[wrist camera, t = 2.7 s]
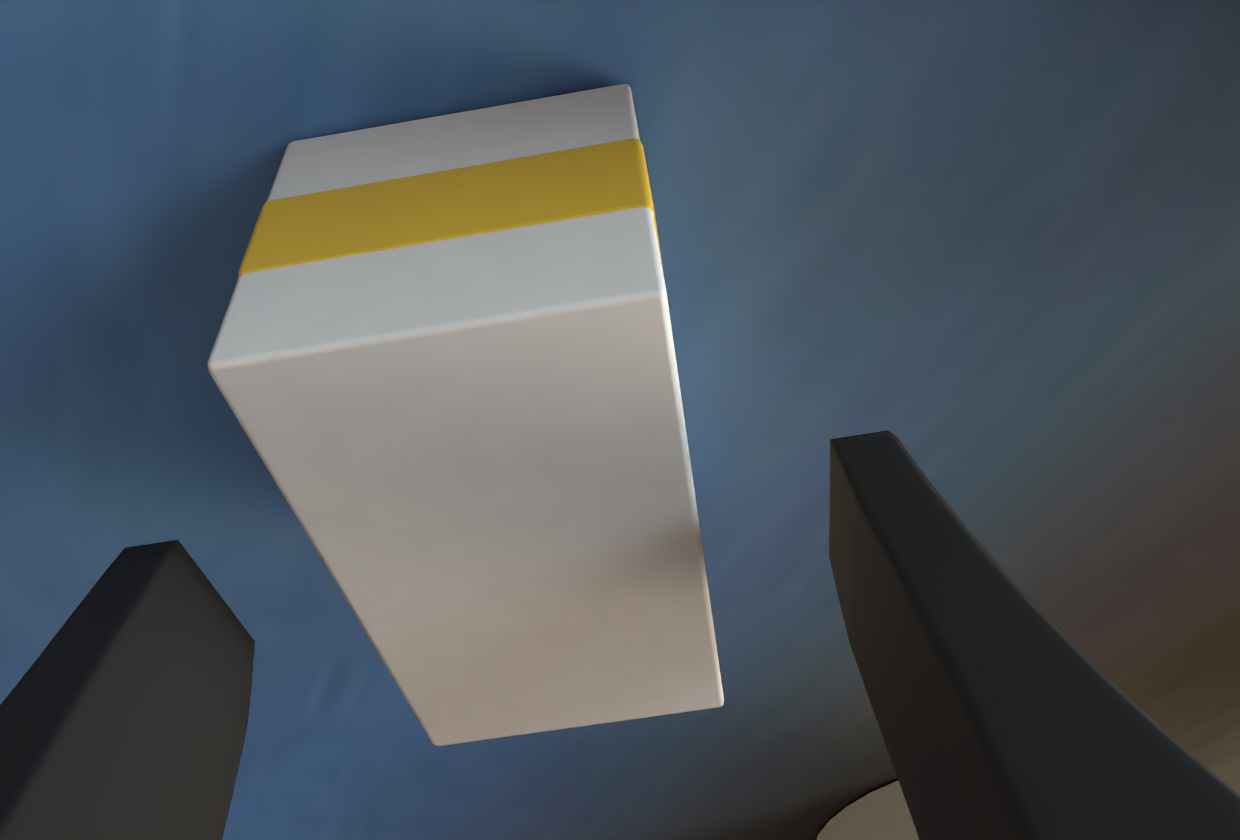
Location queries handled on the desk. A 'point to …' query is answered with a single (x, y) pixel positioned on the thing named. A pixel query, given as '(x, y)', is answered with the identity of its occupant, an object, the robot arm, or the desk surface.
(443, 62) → the desk surface
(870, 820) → the reusable coffee cup
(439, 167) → the tea packet
